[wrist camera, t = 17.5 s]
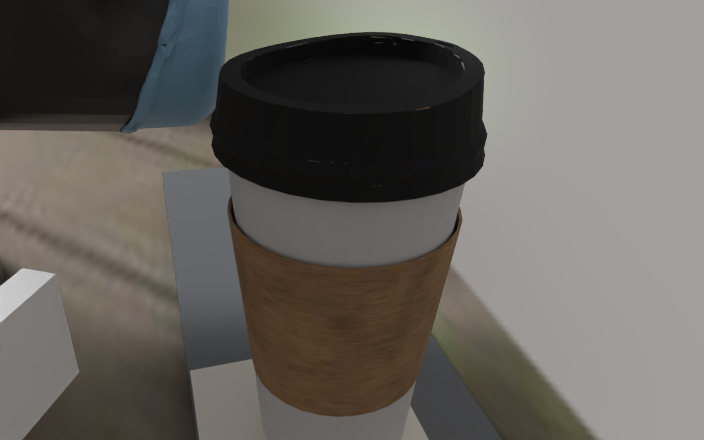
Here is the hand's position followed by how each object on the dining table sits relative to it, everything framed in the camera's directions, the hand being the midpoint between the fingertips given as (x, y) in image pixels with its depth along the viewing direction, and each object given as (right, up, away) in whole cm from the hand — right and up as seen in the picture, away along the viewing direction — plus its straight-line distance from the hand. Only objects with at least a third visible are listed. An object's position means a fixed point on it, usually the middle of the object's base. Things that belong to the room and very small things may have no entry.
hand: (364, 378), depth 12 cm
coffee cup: (-1, -5, +13) cm, 14 cm away
